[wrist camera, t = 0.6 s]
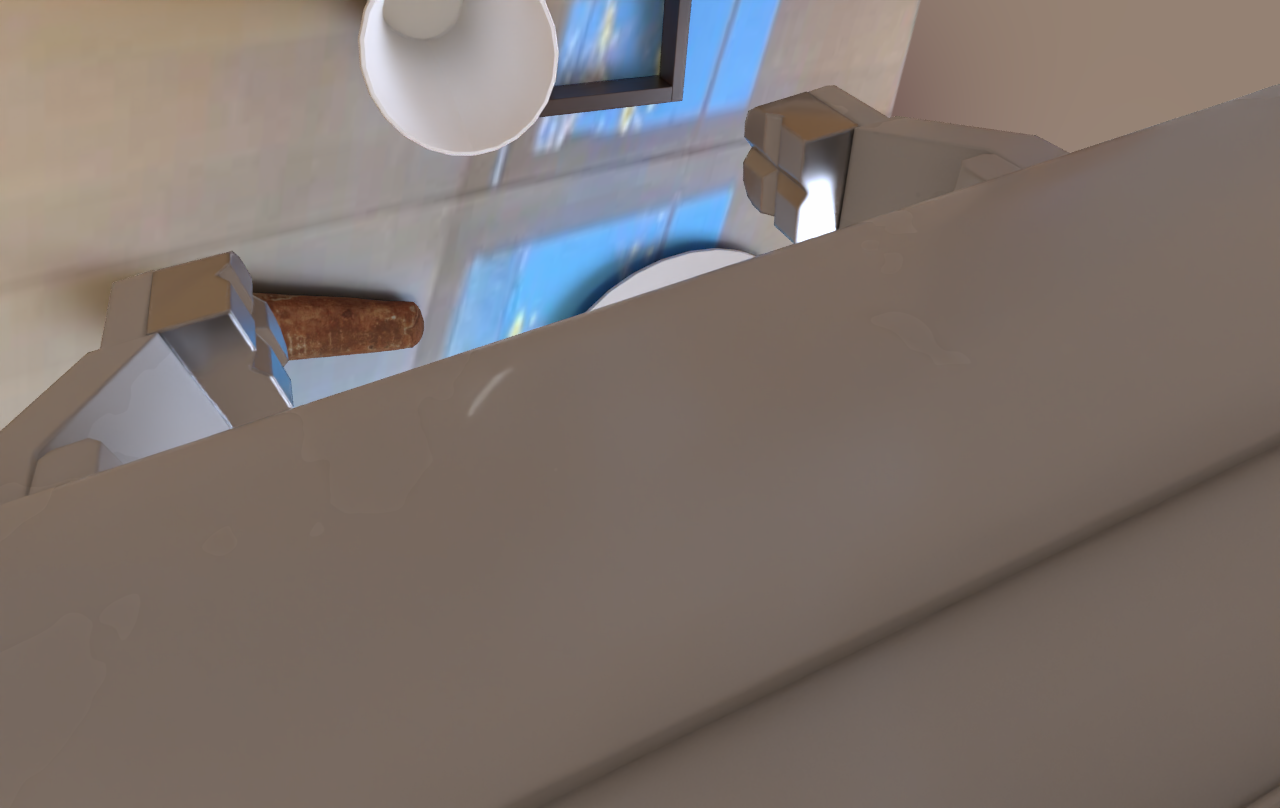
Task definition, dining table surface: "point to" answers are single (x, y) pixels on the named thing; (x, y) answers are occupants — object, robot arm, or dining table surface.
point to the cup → (459, 69)
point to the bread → (343, 324)
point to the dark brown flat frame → (634, 89)
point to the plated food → (671, 272)
